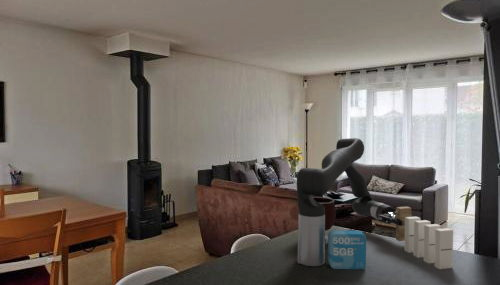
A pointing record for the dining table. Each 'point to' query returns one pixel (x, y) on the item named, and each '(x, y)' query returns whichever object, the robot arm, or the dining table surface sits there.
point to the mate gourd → (327, 212)
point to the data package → (346, 249)
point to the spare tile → (401, 214)
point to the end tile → (443, 248)
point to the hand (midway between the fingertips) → (407, 222)
